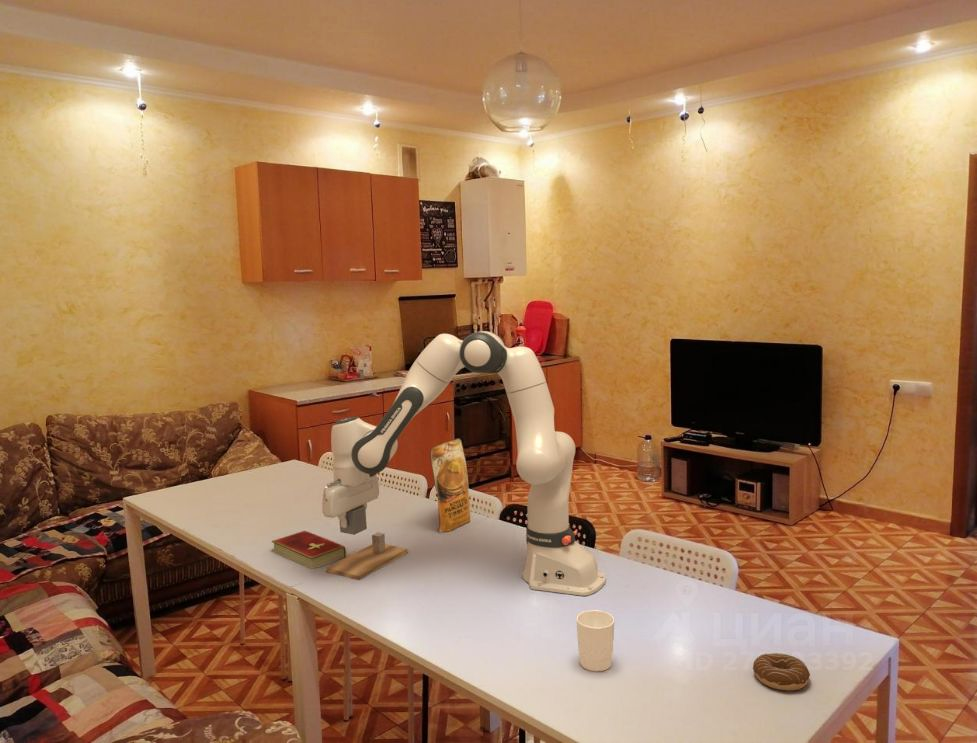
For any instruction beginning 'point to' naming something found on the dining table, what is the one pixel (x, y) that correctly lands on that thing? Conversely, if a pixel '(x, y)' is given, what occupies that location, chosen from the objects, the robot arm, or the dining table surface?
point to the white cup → (595, 639)
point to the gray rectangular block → (355, 521)
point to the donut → (781, 671)
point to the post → (378, 543)
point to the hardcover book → (309, 549)
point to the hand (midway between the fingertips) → (353, 523)
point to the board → (366, 562)
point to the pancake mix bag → (451, 485)
